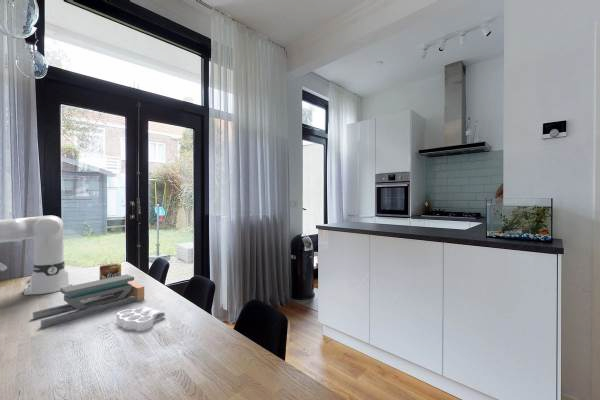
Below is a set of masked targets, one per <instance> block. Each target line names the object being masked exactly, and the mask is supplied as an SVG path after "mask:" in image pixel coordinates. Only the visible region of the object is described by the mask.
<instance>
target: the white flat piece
mask: <svg viewBox="0 0 600 400" xmlns="http://www.w3.org/2000/svg"><path fill="white" fill-rule="evenodd" d="M165 316H166V312H164V311H160V310H157V309H156V308H152V307H149V306H146V305H145V306H141V307H138V308H128V309H123V310H120V311H118V312H117V313H116V322H115V323H114V325H118V326H119V327H121V328H124V330H135V331H138V332H140V331H145V330H147V329H150V328H151V327H153V326H154V323H155V322H156V321H160V320H162V319H163V318H165Z"/></svg>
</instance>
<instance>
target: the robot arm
mask: <svg viewBox="0 0 600 400" xmlns="http://www.w3.org/2000/svg"><path fill="white" fill-rule="evenodd" d="M63 229H64V221H63V219H61V218H60V216H56V215H51V214H50V215H40V216H31V217H20V218H19V217H17V218H7V219H6V218H4V219H0V243H9V242H10V243H11V242H18V241H23V240H29V239H33V244H34V245H33V246H34V247H33V248H34V264H33V267H32V268H33V269H32V271H33V273H32V275H31V276H30V277H29V278H28V279H26V283H25V284H26V285H27V286H25V288H24V294H23V295H24V296H28V295H29V296H30V295H44V294H51V293H55V292H60V288H63V287H68V286H73V283H72V282H70V281H69V271H68V270H66V269H65V261H64V230H63ZM7 269H8V267H7V265H6V264H4V263H2V262H0V271H1V272H5V271H6V270H7Z"/></svg>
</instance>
